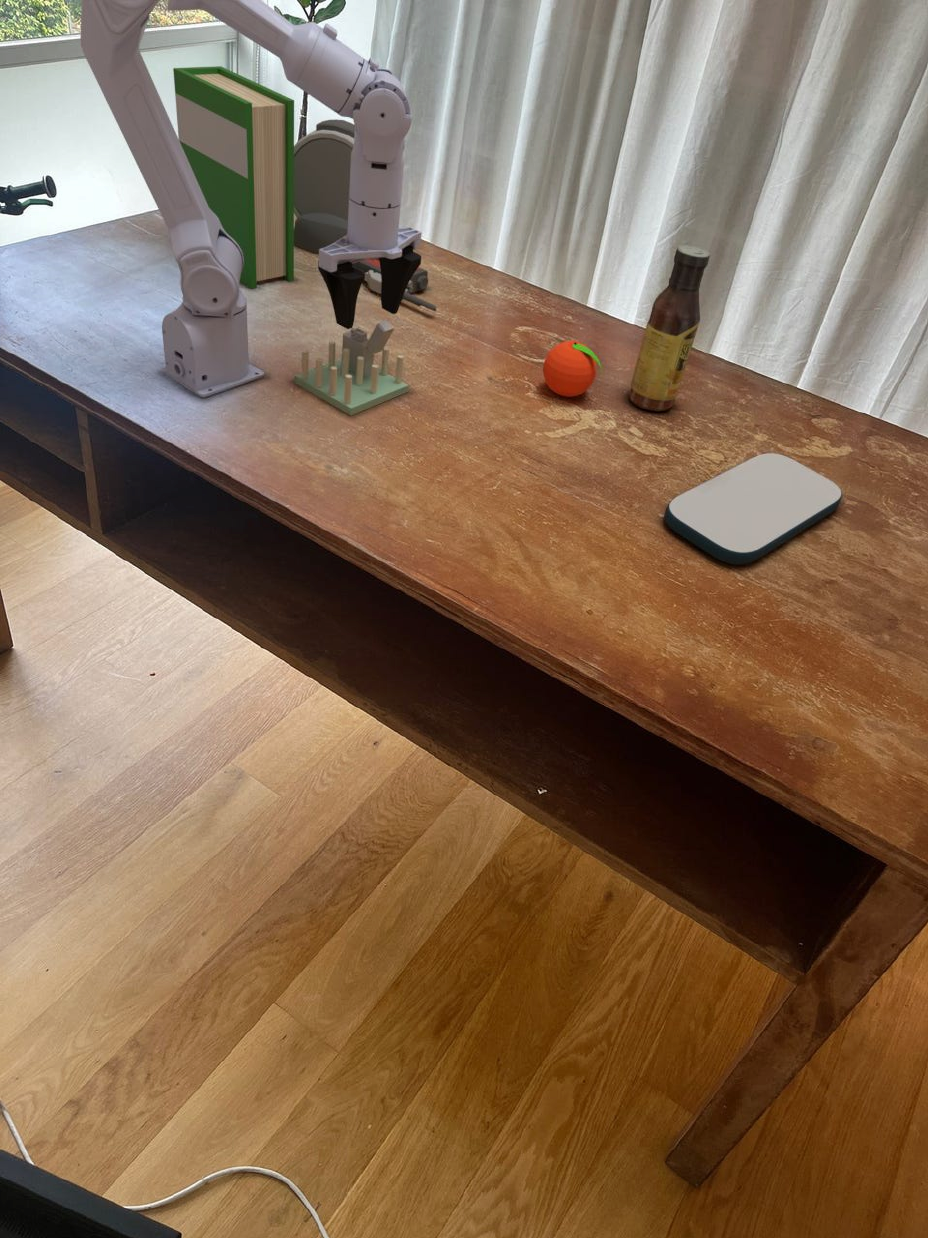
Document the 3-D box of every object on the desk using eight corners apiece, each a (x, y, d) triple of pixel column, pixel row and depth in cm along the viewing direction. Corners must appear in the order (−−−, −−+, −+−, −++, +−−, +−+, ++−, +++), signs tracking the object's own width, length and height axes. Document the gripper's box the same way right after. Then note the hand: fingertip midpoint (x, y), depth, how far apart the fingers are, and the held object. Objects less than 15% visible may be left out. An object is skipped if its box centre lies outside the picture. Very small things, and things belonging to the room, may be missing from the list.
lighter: (340, 365, 113) (343, 304, 108) (350, 362, 114) (353, 301, 109) (380, 388, 110) (384, 326, 105) (390, 384, 111) (395, 323, 106)
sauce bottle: (672, 418, 117) (720, 266, 104) (625, 407, 117) (667, 255, 104) (673, 395, 122) (720, 247, 108) (628, 385, 122) (669, 237, 109)
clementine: (606, 396, 119) (619, 346, 114) (582, 415, 114) (594, 363, 109) (554, 375, 121) (565, 325, 117) (528, 392, 117) (539, 341, 112)
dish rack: (350, 415, 106) (352, 381, 103) (294, 382, 111) (294, 348, 108) (408, 391, 113) (411, 358, 110) (352, 361, 117) (354, 328, 114)
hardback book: (293, 280, 134) (294, 100, 118) (251, 288, 129) (245, 103, 113) (228, 239, 142) (220, 65, 126) (186, 246, 138) (173, 67, 122)
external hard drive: (735, 576, 93) (742, 561, 91) (650, 520, 98) (654, 505, 97) (846, 506, 106) (853, 492, 105) (765, 460, 112) (771, 446, 110)
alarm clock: (392, 246, 149) (401, 126, 137) (371, 266, 141) (379, 140, 129) (302, 225, 151) (303, 104, 139) (276, 243, 143) (275, 117, 131)
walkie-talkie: (329, 273, 137) (429, 320, 129) (330, 244, 134) (433, 290, 126) (368, 261, 143) (466, 305, 135) (370, 233, 140) (470, 276, 132)
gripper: (352, 222, 92) (346, 345, 101) (445, 201, 101) (432, 316, 110) (306, 200, 95) (304, 322, 104) (400, 181, 104) (391, 295, 113)
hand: (367, 317), depth 107 cm, fingers open, 7 cm apart
